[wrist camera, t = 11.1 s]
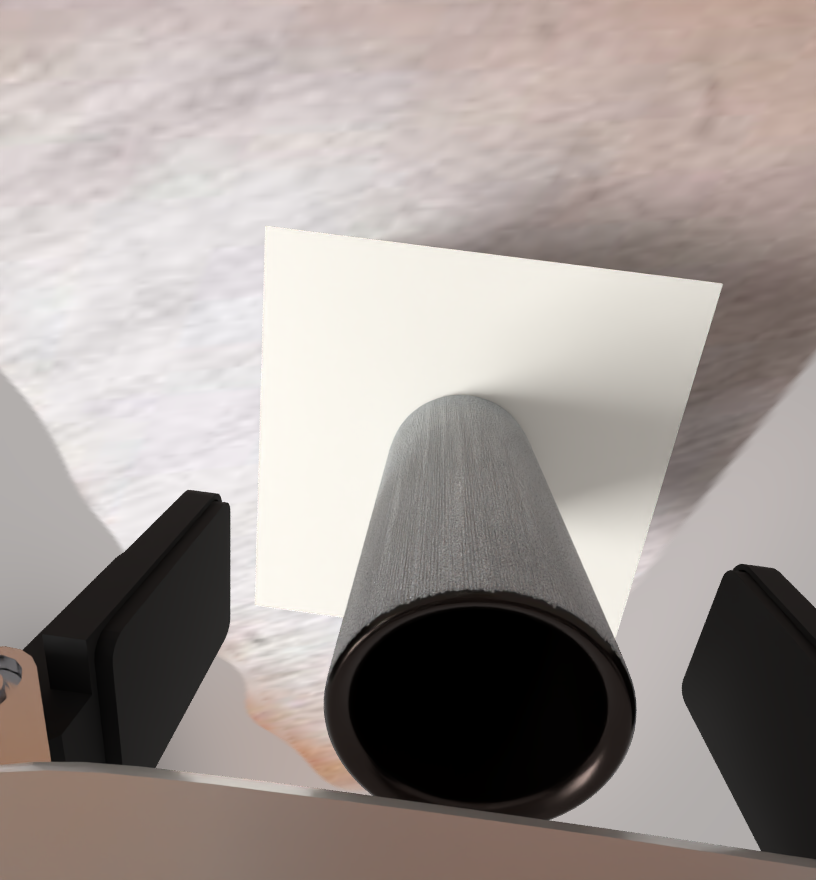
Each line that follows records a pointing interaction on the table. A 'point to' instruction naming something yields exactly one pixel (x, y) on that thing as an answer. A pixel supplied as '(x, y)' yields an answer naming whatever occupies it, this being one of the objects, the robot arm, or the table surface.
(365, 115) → the table surface
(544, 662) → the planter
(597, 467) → the stool
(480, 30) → the table surface
